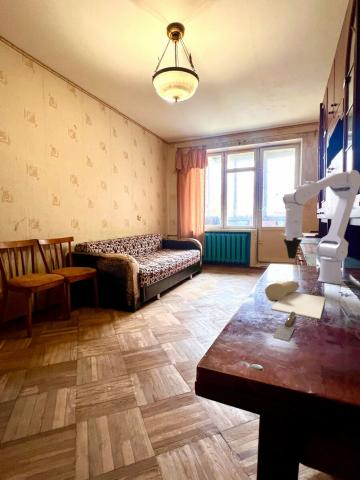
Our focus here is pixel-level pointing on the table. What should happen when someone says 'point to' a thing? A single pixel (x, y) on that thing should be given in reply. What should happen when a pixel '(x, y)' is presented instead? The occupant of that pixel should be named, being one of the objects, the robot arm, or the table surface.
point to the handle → (281, 289)
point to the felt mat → (300, 304)
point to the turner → (285, 329)
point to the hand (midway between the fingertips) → (291, 258)
